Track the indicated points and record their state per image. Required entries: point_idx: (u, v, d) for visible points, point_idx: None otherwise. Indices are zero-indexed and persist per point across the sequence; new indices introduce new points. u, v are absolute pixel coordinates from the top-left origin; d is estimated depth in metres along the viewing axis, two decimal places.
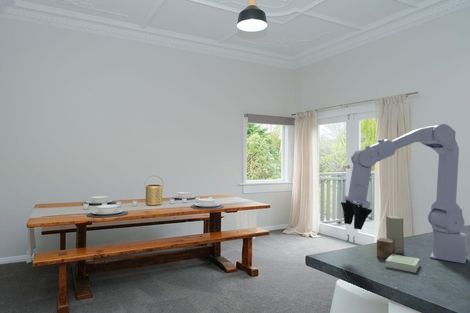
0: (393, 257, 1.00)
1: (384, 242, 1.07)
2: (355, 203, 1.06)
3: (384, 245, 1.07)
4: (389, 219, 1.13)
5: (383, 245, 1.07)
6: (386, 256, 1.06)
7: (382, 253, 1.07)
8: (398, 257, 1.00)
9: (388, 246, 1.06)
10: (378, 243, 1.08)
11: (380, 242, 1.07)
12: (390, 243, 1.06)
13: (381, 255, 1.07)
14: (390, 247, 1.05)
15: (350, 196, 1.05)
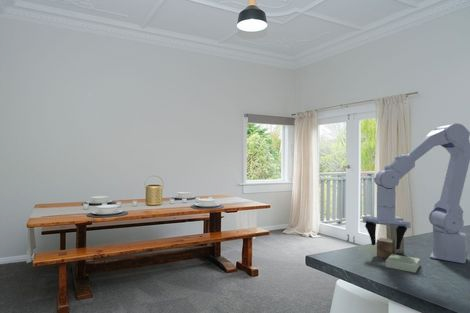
0: (393, 257, 1.00)
1: (384, 242, 1.07)
2: (386, 224, 1.08)
3: (384, 245, 1.07)
4: None
5: (383, 245, 1.07)
6: (386, 256, 1.06)
7: (382, 253, 1.07)
8: (398, 257, 1.00)
9: (388, 246, 1.06)
10: (378, 243, 1.08)
11: (380, 242, 1.07)
12: (390, 243, 1.06)
13: (381, 255, 1.07)
14: (390, 247, 1.05)
15: (386, 219, 1.06)
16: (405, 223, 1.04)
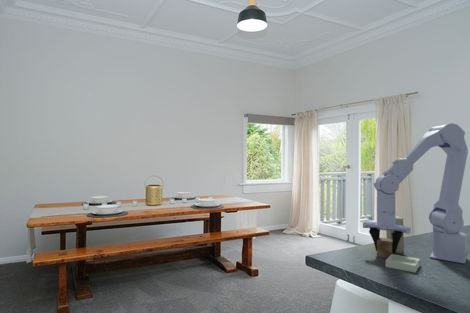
0: (393, 257, 1.00)
1: (384, 242, 1.07)
2: (386, 229, 1.08)
3: (384, 245, 1.07)
4: None
5: (383, 245, 1.07)
6: (386, 256, 1.06)
7: (382, 252, 1.07)
8: (398, 257, 1.00)
9: (388, 245, 1.06)
10: (378, 243, 1.08)
11: (380, 242, 1.07)
12: (390, 243, 1.06)
13: (381, 255, 1.07)
14: (390, 247, 1.05)
15: (386, 224, 1.06)
16: (405, 228, 1.04)
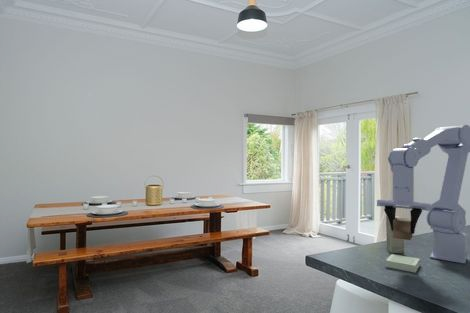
0: (393, 257, 1.00)
1: (401, 221, 0.97)
2: (403, 207, 0.98)
3: (401, 225, 0.97)
4: None
5: (400, 225, 0.97)
6: (404, 237, 0.96)
7: (398, 233, 0.97)
8: (398, 257, 1.00)
9: (406, 225, 0.96)
10: (394, 223, 0.98)
11: (397, 221, 0.97)
12: (408, 222, 0.96)
13: (398, 236, 0.97)
14: (408, 227, 0.96)
15: (404, 201, 0.96)
16: (425, 205, 0.94)
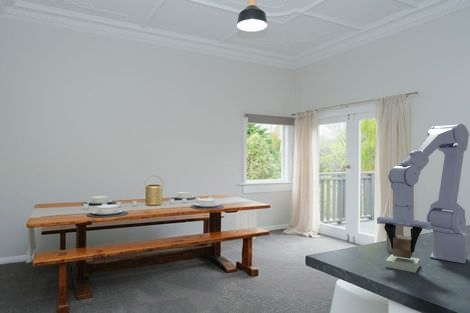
0: (393, 257, 1.00)
1: (401, 240, 0.97)
2: (403, 225, 0.98)
3: (401, 243, 0.97)
4: None
5: (400, 243, 0.97)
6: (404, 255, 0.96)
7: (399, 251, 0.97)
8: (398, 257, 1.00)
9: (406, 244, 0.96)
10: (395, 241, 0.98)
11: (397, 239, 0.97)
12: (408, 241, 0.96)
13: (398, 254, 0.97)
14: (408, 245, 0.96)
15: (404, 220, 0.96)
16: (425, 224, 0.94)
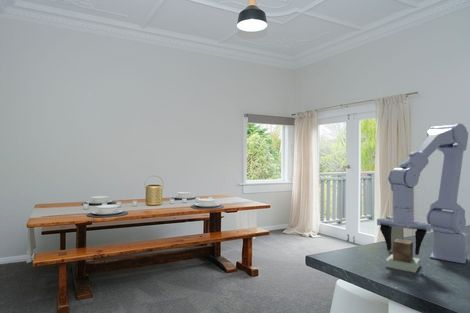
0: None
1: (401, 244, 0.97)
2: (403, 227, 0.98)
3: (401, 247, 0.97)
4: None
5: (400, 247, 0.97)
6: (404, 259, 0.96)
7: (398, 255, 0.97)
8: None
9: (406, 248, 0.96)
10: (394, 245, 0.98)
11: (397, 243, 0.97)
12: (408, 245, 0.96)
13: (398, 258, 0.97)
14: (408, 249, 0.96)
15: (404, 221, 0.96)
16: (425, 226, 0.94)
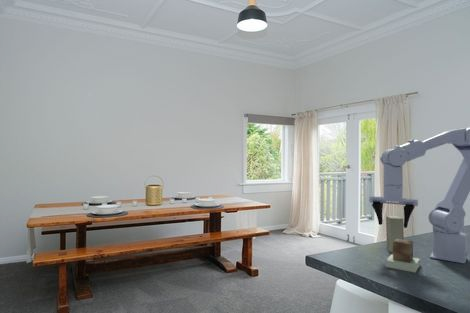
0: None
1: (401, 244, 0.97)
2: (393, 203, 1.07)
3: (401, 247, 0.97)
4: (389, 219, 1.13)
5: (400, 247, 0.97)
6: (404, 259, 0.96)
7: (398, 255, 0.97)
8: None
9: (406, 248, 0.96)
10: (394, 245, 0.98)
11: (397, 243, 0.97)
12: (408, 245, 0.96)
13: (398, 258, 0.97)
14: (408, 249, 0.96)
15: (393, 197, 1.05)
16: (413, 201, 1.03)
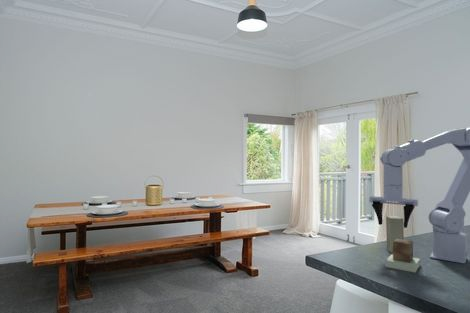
0: None
1: (401, 244, 0.97)
2: (393, 203, 1.07)
3: (401, 247, 0.97)
4: (389, 219, 1.13)
5: (400, 247, 0.97)
6: (404, 259, 0.96)
7: (398, 255, 0.97)
8: None
9: (406, 248, 0.96)
10: (394, 245, 0.98)
11: (397, 243, 0.97)
12: (408, 245, 0.96)
13: (398, 258, 0.97)
14: (408, 249, 0.96)
15: (393, 197, 1.05)
16: (412, 201, 1.03)
